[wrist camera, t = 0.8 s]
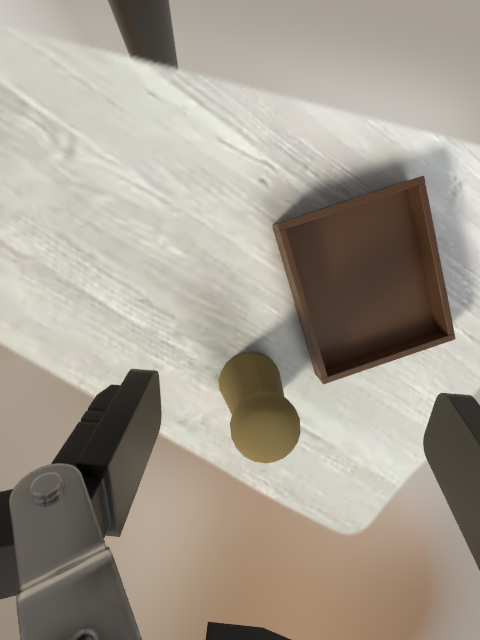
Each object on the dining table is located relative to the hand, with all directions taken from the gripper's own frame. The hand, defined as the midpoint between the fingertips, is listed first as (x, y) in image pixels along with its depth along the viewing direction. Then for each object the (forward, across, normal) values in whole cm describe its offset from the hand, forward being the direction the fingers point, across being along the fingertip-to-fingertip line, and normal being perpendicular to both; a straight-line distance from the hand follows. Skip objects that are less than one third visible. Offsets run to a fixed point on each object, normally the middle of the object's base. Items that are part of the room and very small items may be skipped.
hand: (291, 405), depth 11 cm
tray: (+26, -8, +5) cm, 28 cm away
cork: (+22, +2, +15) cm, 27 cm away
